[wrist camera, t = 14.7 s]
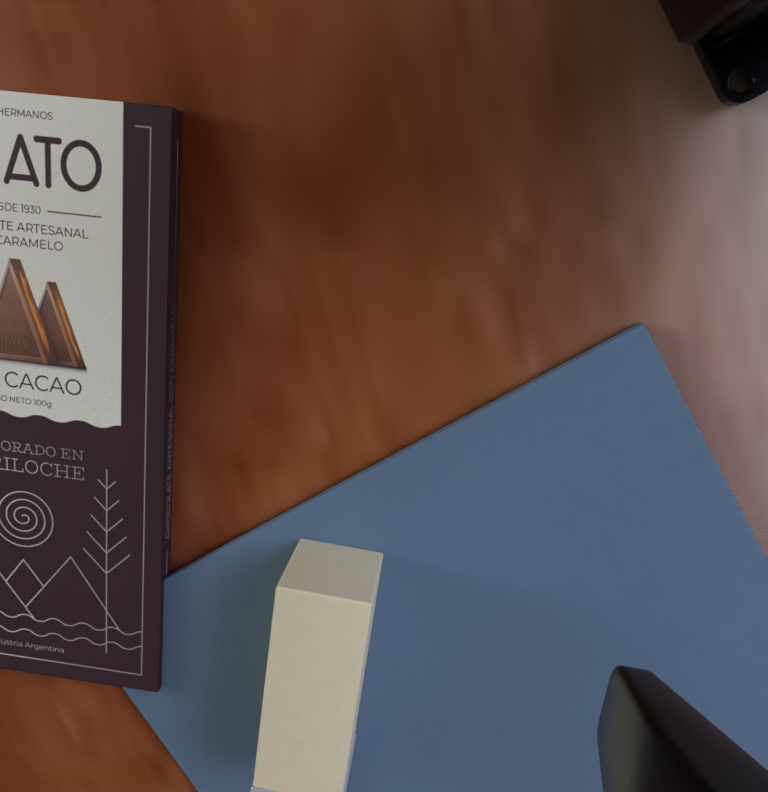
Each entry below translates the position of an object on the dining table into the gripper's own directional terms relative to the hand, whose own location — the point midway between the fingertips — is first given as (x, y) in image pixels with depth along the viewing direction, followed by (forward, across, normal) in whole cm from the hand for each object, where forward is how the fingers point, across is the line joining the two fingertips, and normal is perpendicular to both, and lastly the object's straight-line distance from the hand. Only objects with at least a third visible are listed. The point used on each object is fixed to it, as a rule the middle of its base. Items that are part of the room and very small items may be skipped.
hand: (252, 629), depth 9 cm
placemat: (+12, -4, +9) cm, 15 cm away
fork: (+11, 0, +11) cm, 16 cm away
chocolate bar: (+12, +10, +2) cm, 16 cm away
